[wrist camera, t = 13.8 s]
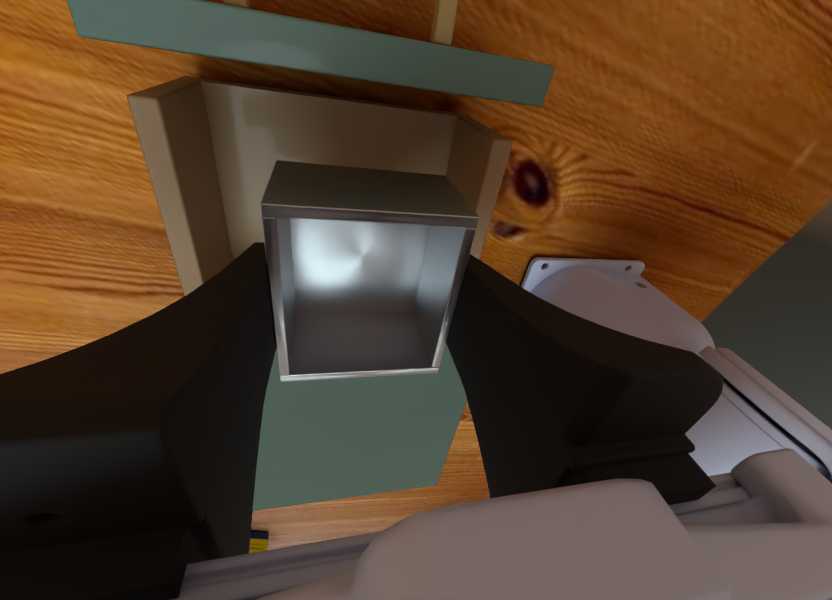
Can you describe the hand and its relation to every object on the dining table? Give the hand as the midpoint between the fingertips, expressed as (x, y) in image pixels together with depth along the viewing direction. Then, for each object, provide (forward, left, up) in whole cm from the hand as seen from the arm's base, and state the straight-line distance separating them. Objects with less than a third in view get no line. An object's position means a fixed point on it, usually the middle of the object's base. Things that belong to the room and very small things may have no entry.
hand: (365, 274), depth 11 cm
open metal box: (0, 0, -1) cm, 1 cm away
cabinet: (+1, +12, -10) cm, 16 cm away
